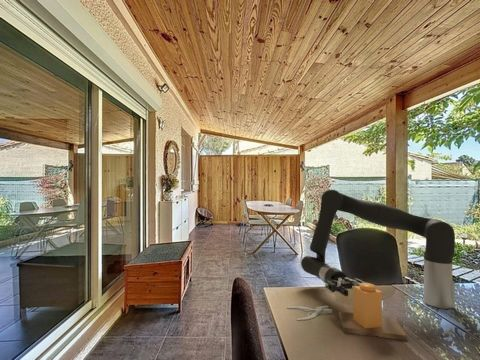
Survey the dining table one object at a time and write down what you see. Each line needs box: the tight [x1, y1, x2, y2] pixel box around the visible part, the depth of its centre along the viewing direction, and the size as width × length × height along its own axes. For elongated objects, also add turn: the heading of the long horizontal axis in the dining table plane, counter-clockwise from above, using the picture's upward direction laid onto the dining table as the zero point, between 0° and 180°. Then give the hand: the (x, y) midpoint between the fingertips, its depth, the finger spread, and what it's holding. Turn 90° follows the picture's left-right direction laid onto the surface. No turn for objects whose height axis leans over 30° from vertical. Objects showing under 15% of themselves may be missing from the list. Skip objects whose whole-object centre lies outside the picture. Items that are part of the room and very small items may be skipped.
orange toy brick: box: [352, 282, 383, 328], centre depth 89 cm, size 6×6×12 cm
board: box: [338, 311, 408, 341], centre depth 89 cm, size 18×11×6 cm, turn 77°
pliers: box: [286, 305, 333, 321], centre depth 99 cm, size 10×2×15 cm
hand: (358, 292), depth 93 cm, fingers open, 8 cm apart
